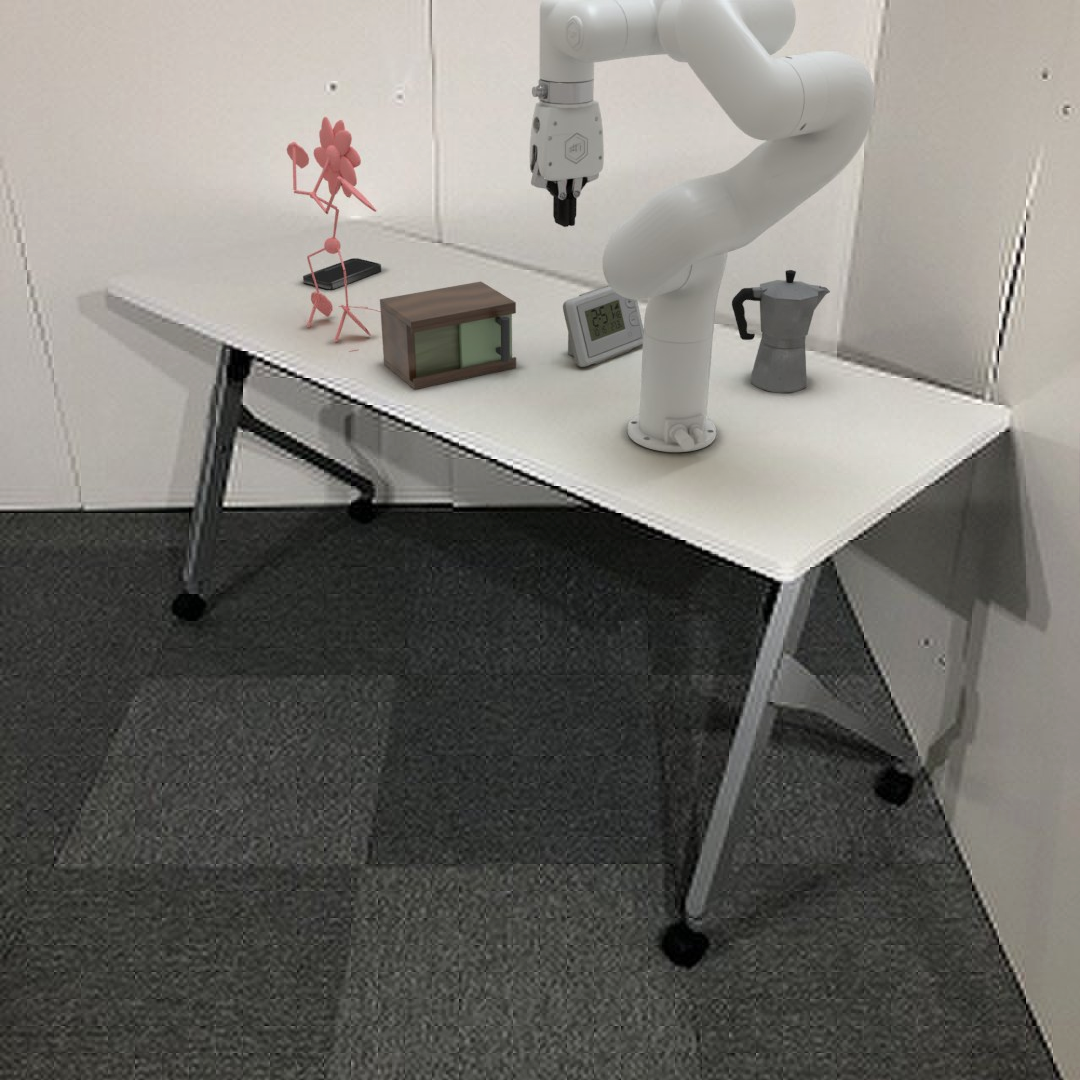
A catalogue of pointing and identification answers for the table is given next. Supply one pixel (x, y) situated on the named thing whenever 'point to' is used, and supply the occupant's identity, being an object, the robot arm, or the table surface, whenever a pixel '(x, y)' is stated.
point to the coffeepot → (780, 330)
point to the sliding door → (485, 341)
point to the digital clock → (602, 326)
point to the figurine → (339, 173)
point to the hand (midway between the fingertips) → (564, 223)
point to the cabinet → (438, 332)
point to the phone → (342, 273)
